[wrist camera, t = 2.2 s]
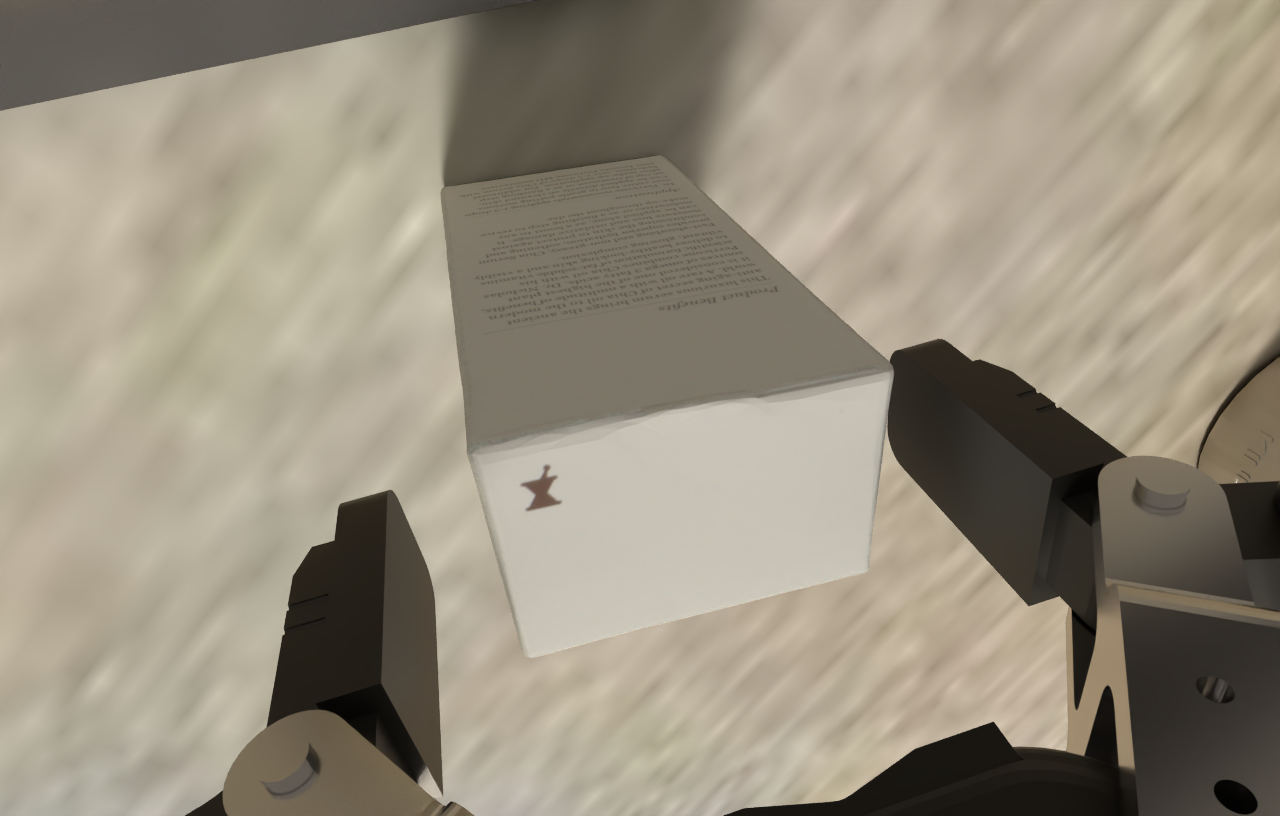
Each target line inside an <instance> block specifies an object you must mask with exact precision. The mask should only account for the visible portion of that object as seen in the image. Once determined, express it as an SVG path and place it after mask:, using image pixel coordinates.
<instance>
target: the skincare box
mask: <svg viewBox="0 0 1280 816" xmlns="http://www.w3.org/2000/svg"><path fill="white" fill-rule="evenodd" d="M441 204H442V213H443V221H444V230H445V239H446V246H447V260H448V270H449V278H450V289H451V297H452V306H453V314H454V322H455V334H456V341H457V350H458V359H459V367H460V374H461V381H462V387H463V397H464V410H465V425H466V438H467V455H468V458H469V461H470V465H471V468H472V471H473V475H474V478H475V481H476V485H477V488H478V492H479V496H480V499H481V503H482V507H483V510H484V514H485V518H486V521H487V525H488V529H489V532H490V536H491V540H492V543H493V547H494V551H495V554H496V558H497V562H498V565H499V569H500V573H501V576H502V580H503V584H504V587H505V591H506V595H507V598H508V602H509V606H510V609H511V613H512V617H513V620H514V624H515V628H516V631H517V635H518V639H519V642H520V646H521V649H522V651H523V653H524V654H525V656H527V657H528V658H535V657H539V656H543V655H546V654H550V653H554V652H558V651H561V650H565V649H569V648H572V647H576V646H579V645H583V644H587V643H590V642H594V641H598V640H602V639H605V638H609V637H613V636H617V635H620V634H624V633H628V632H632V631H636V630H640V629H644V628H647V627H651V626H655V625H659V624H663V623H667V622H671V621H675V620H679V619H683V618H687V617H691V616H695V615H700V614H704V613H708V612H712V611H716V610H720V609H724V608H728V607H732V606H736V605H739V604H743V603H747V602H751V601H755V600H759V599H763V598H766V597H770V596H774V595H778V594H782V593H785V592H789V591H793V590H798V589H802V588H806V587H810V586H814V585H818V584H822V583H826V582H830V581H833V580H837V579H841V578H845V577H850V576H855V575H860V574H863V573H866V572H867V571H868V570H869V563H870V550H871V540H872V531H873V521H874V514H875V507H876V500H877V493H878V485H879V478H880V471H881V463H882V455H883V447H884V439H885V431H886V424H887V417H888V409H889V402H890V396H891V390H892V383H893V377H894V370H893V366H892V365H891V363H890V362H889V361H888V360H887V359H886V358H885V357H883V356H882V355H881V354H880V353H879V352H878V351H877V350H875V349H874V348H873V347H872V346H871V345H870V344H869V343H867V342H866V341H865V340H864V339H863V338H862V337H861V336H859V335H858V334H857V333H856V332H855V331H854V330H853V329H852V328H851V327H850V326H849V325H848V324H846V323H845V322H844V321H843V320H842V319H840V318H839V317H838V316H837V315H836V314H835V313H834V312H833V311H832V310H831V309H830V308H829V307H827V306H826V305H825V304H824V303H823V302H822V301H821V300H820V299H819V298H818V297H816V296H815V295H814V294H813V293H812V292H811V291H810V290H809V289H808V288H807V287H805V286H804V285H803V284H802V283H801V282H800V281H799V280H798V279H797V278H796V277H795V276H793V275H792V274H791V273H790V272H789V271H788V270H787V269H786V268H785V267H784V266H783V265H782V264H780V263H779V262H778V261H777V260H776V259H775V258H774V257H773V256H772V255H771V254H770V253H769V252H768V251H767V250H766V249H764V248H763V247H762V246H761V245H760V244H759V243H758V242H757V241H756V240H755V239H754V238H753V237H751V236H750V235H749V234H748V233H747V232H746V231H745V230H744V229H743V228H742V227H741V226H739V225H738V224H737V223H736V222H735V221H734V220H733V219H732V218H731V217H730V216H729V215H728V214H727V213H725V212H724V211H723V210H722V209H721V208H720V207H719V206H718V205H717V204H716V203H715V202H714V201H713V200H711V199H710V198H709V197H708V196H707V195H706V194H705V193H704V192H703V191H702V190H701V189H699V188H698V187H697V185H696V184H694V183H693V182H692V181H691V180H690V179H689V178H688V177H687V176H686V175H684V174H683V173H682V172H681V171H680V170H679V169H678V168H677V167H676V166H675V165H674V164H672V163H671V162H670V161H669V160H668V159H667V158H666V157H664V156H662V155H658V156H652V157H646V158H639V159H632V160H625V161H618V162H611V163H604V164H597V165H590V166H584V167H577V168H570V169H563V170H557V171H550V172H544V173H538V174H530V175H523V176H516V177H510V178H504V179H498V180H491V181H484V182H477V183H470V184H463V185H456V186H448V187H444V188H442V190H441Z"/></svg>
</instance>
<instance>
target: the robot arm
mask: <svg viewBox="0 0 1280 816" xmlns="http://www.w3.org/2000/svg"><path fill="white" fill-rule="evenodd" d="M890 363H891V365H892V366H893V370H894V377H893V383H892V390H891V396H890V402H889V409H888V437H889V442H890V445H891V448H892V451H893V453H894V455H895V457H896V459H897V461H898V462H899V464H900V465H901V466H902V467H903V468H904V470H905V471H906V472H907V473H908V474H909V475H910V476H911V477H912V478H913V479H914V481H915V482H916V483H917V484H918V485H919V486H920V487H921V488H922V489H923V490H924V492H925V493H926V494H927V495H928V496H929V497H930V498H931V499H932V500H933V501H934V503H935V504H936V505H937V506H938V507H939V508H940V509H941V510H942V511H943V512H944V514H945V515H946V516H947V517H948V518H949V519H950V520H951V521H952V522H953V523H954V525H955V526H956V527H957V528H958V529H959V530H960V531H961V532H962V533H963V534H964V535H965V537H966V538H967V539H968V540H969V541H970V542H971V543H972V544H973V545H974V546H975V548H976V549H977V550H978V551H979V552H980V553H981V554H982V555H983V556H984V557H985V559H986V560H987V561H988V562H989V563H990V564H991V565H992V566H993V567H994V568H995V570H996V571H997V572H998V573H999V574H1000V575H1001V576H1002V577H1003V578H1004V579H1005V581H1006V582H1007V583H1008V584H1009V585H1010V586H1011V587H1012V588H1013V589H1014V590H1015V591H1016V593H1017V594H1018V595H1019V596H1020V597H1021V598H1022V599H1023V600H1024V601H1025V602H1026V604H1027V605H1028V606H1031V605H1034V604H1037V603H1040V602H1043V601H1046V600H1049V599H1052V598H1055V597H1058V596H1060V597H1061V598H1062V599H1063V600H1064V601H1065V602H1066V603H1067V604H1068V605H1069V608H1068V613H1067V617H1066V654H1067V700H1068V738H1067V749H1066V751H1060V750H1054V749H1048V748H1037V747H1012V746H1011V745H1010V743H1009V742H1008V741H1007V739H1006V738H1005V736H1004V735H1003V734H1002V732H1001V731H1000V730H999V728H998V727H997V726H996V724H995V723H994V722H991V723H988V724H986V725H983V726H980V727H977V728H974V729H971V730H968V731H965V732H963V733H960V734H957V735H954V736H951V737H948V738H945V739H942V740H940V741H937V742H934V743H931V744H928V745H925V746H922V747H919V748H917V749H914V750H913V751H911V752H910V753H909V754H907V755H906V756H905V757H903V758H902V759H900V760H899V761H898V762H896V763H895V764H893V765H892V766H891V767H889V768H888V769H886V770H885V771H884V772H882V773H881V774H879V775H878V776H877V777H875V778H874V779H872V780H871V781H870V782H868V783H867V784H865V785H864V786H863V787H861V788H860V789H859V790H857V791H856V792H854V793H853V794H852V795H850V796H848V797H847V798H845V799H842V800H839V801H834V802H824V803H810V804H796V805H783V806H769V807H755V808H744V809H741V810H738V811H735V812H733V813H730V814H727V815H724V816H1280V357H1278V358H1277V359H1276V360H1275V361H1273V362H1272V363H1271V364H1270V365H1268V366H1267V367H1266V368H1265V369H1263V370H1262V371H1261V372H1260V373H1258V374H1257V375H1256V376H1255V377H1254V378H1253V379H1252V380H1251V381H1250V382H1249V383H1248V384H1247V385H1246V386H1245V387H1244V388H1243V389H1242V390H1241V391H1240V392H1239V393H1238V394H1237V395H1236V397H1235V398H1234V399H1233V400H1232V402H1231V403H1230V404H1229V405H1228V407H1227V408H1226V409H1225V410H1224V412H1223V413H1222V414H1221V416H1220V417H1219V419H1218V421H1217V422H1216V424H1215V426H1214V427H1213V429H1212V431H1211V432H1210V434H1209V436H1208V438H1207V440H1206V443H1205V445H1204V448H1203V450H1202V453H1201V455H1200V460H1199V465H1198V469H1197V468H1195V467H1193V466H1190V465H1188V464H1185V463H1182V462H1179V461H1176V460H1172V459H1168V458H1162V457H1156V456H1132V457H1127V456H1125V455H1124V454H1123V453H1121V452H1120V451H1119V450H1117V449H1116V448H1115V447H1113V446H1112V445H1111V444H1109V443H1108V442H1106V441H1105V440H1104V439H1102V438H1101V437H1100V436H1098V435H1097V434H1096V433H1094V432H1093V431H1092V430H1090V429H1089V428H1088V427H1086V426H1085V425H1084V424H1082V423H1081V422H1079V421H1078V420H1077V419H1075V418H1074V417H1073V416H1071V415H1070V414H1069V413H1067V412H1066V411H1065V410H1063V409H1062V408H1061V407H1059V408H1056V406H1055V403H1054V402H1052V401H1051V400H1050V399H1048V398H1047V397H1046V396H1044V395H1043V394H1042V393H1037V392H1036V389H1035V388H1034V387H1032V386H1031V385H1030V384H1028V383H1027V382H1026V381H1024V380H1023V379H1021V378H1020V377H1019V376H1017V375H1016V374H1015V373H1013V372H1012V371H1009V370H1007V369H1004V368H1001V367H999V366H996V365H993V364H991V363H988V362H985V361H982V360H980V359H979V360H976V361H972V360H970V359H969V358H968V357H966V356H965V355H964V354H963V353H961V352H960V351H959V350H957V349H956V348H955V347H953V346H952V345H951V344H950V343H948V342H947V341H945V340H943V339H937V340H933V341H929V342H926V343H922V344H919V345H915V346H911V347H908V348H904V349H901V350H897V351H895V352H894V353H893V354H892V356H891V359H890ZM288 607H289V611H287V613H286V619H285V625H284V631H285V635H283V636H282V642H281V648H280V654H279V660H278V665H277V671H276V677H275V683H274V688H273V694H272V700H271V706H270V711H269V717H268V723H267V727H266V729H264V730H263V731H262V732H260V733H259V734H258V735H257V736H256V737H255V738H253V739H252V740H251V741H250V742H249V743H248V744H247V745H246V747H245V748H244V749H243V750H242V751H241V752H240V754H239V755H238V757H237V758H236V760H235V761H234V763H233V764H232V766H231V768H230V770H229V772H228V775H227V778H226V780H225V783H224V789H223V791H221V792H220V793H219V794H218V795H216V796H215V797H214V798H212V799H211V800H209V801H208V802H206V803H205V804H203V805H202V806H200V807H198V808H197V809H195V810H193V811H192V812H190V813H188V814H187V815H185V816H474V815H473V814H472V813H470V812H469V811H468V810H466V809H465V808H464V807H462V806H461V805H459V804H457V803H455V802H450V803H449V804H448V805H447V806H444V805H442V804H441V803H439V802H438V801H437V800H436V799H437V798H440V797H443V781H442V758H441V734H440V710H439V687H438V663H437V639H436V615H435V598H434V592H433V586H432V582H431V578H430V574H429V571H428V568H427V565H426V563H425V560H424V558H423V555H422V553H421V551H420V549H419V546H418V544H417V542H416V539H415V537H414V535H413V532H412V530H411V528H410V526H409V523H408V521H407V519H406V516H405V514H404V512H403V509H402V507H401V505H400V503H399V500H398V498H397V496H396V495H395V493H394V492H393V491H392V490H388V491H384V492H381V493H377V494H374V495H370V496H366V497H363V498H359V499H356V500H352V501H348V502H345V503H341V504H340V505H339V508H338V515H337V524H336V533H335V541H332V542H328V543H325V544H321V545H318V546H314V547H312V548H311V549H310V551H309V552H308V554H307V555H306V557H305V559H304V560H303V562H302V563H301V565H300V566H299V568H298V569H297V571H296V572H295V574H294V575H293V579H292V585H291V590H290V596H289V602H288Z"/></svg>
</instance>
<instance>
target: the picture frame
mask: <svg viewBox="0 0 1280 816" xmlns="http://www.w3.org/2000/svg"><path fill="white" fill-rule="evenodd" d="M530 1H535V0H0V111H1V110H6V109H11V108H15V107H20V106H25V105H30V104H35V103H40V102H45V101H49V100H54V99H59V98H64V97H69V96H74V95H79V94H83V93H88V92H93V91H98V90H103V89H108V88H113V87H117V86H122V85H127V84H132V83H137V82H142V81H147V80H151V79H156V78H161V77H166V76H171V75H176V74H181V73H185V72H190V71H195V70H200V69H205V68H210V67H215V66H219V65H224V64H229V63H234V62H239V61H244V60H249V59H254V58H258V57H263V56H268V55H273V54H278V53H283V52H288V51H292V50H297V49H302V48H307V47H312V46H317V45H322V44H326V43H331V42H336V41H341V40H346V39H351V38H356V37H360V36H365V35H370V34H375V33H380V32H385V31H390V30H394V29H399V28H404V27H409V26H414V25H419V24H424V23H428V22H433V21H438V20H443V19H448V18H453V17H458V16H462V15H467V14H472V13H477V12H482V11H487V10H492V9H496V8H501V7H506V6H511V5H516V4H521V3H526V2H530Z"/></svg>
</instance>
